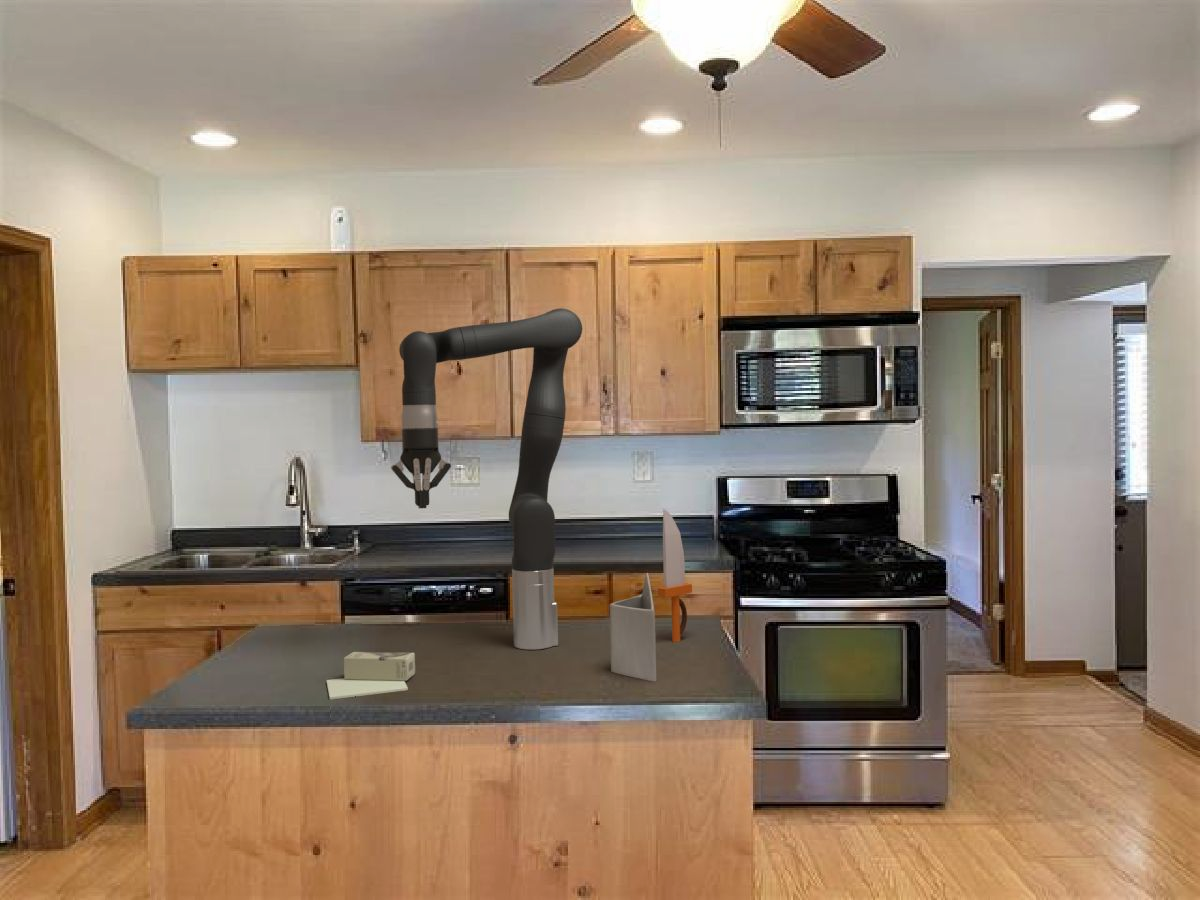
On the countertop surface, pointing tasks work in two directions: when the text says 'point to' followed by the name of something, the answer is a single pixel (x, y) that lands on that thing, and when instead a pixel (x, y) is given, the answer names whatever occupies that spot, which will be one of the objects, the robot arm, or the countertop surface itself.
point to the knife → (674, 574)
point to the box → (379, 666)
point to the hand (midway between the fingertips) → (422, 507)
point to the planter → (634, 636)
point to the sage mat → (362, 687)
